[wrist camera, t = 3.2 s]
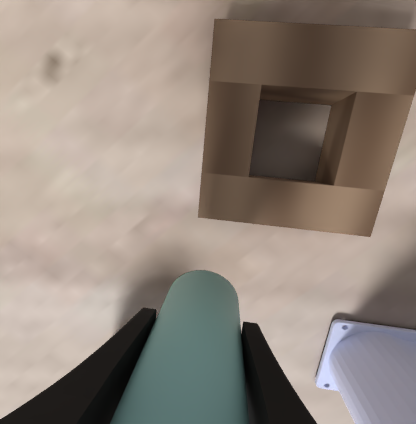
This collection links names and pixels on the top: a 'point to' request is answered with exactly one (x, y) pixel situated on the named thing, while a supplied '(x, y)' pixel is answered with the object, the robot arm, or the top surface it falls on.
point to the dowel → (190, 359)
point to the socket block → (314, 94)
